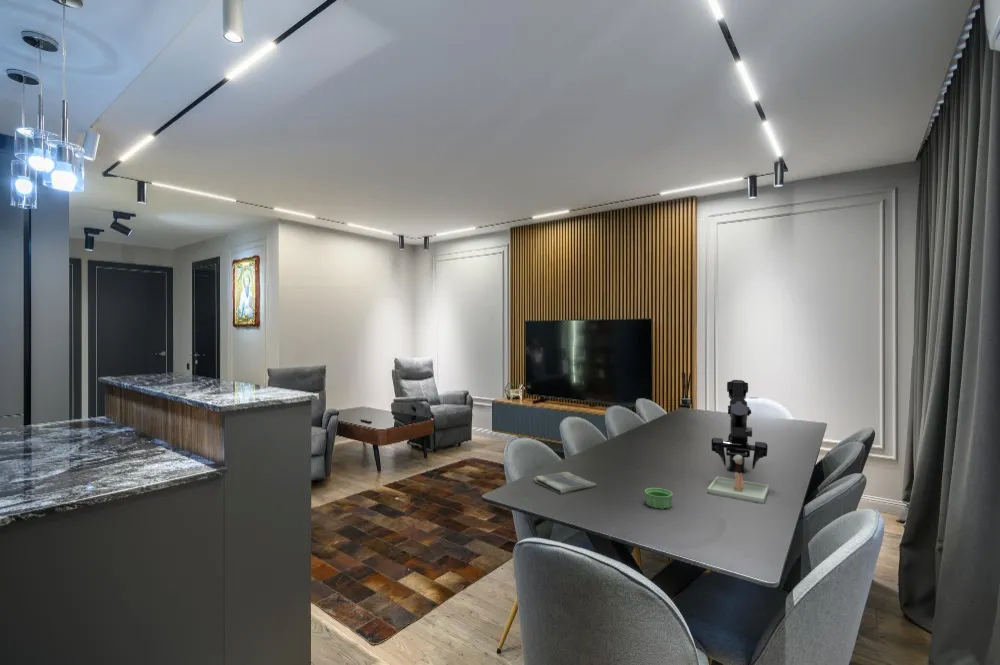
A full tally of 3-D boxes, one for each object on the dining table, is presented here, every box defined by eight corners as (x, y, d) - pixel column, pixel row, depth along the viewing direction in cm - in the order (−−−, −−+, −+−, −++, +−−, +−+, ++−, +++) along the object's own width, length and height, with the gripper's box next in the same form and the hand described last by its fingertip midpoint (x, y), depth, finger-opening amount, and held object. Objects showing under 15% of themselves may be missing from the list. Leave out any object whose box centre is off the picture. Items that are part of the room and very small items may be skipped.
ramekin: (638, 502, 164) (639, 489, 164) (660, 499, 168) (660, 486, 168) (656, 511, 156) (656, 498, 156) (678, 508, 159) (678, 494, 159)
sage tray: (716, 480, 189) (716, 476, 189) (769, 489, 178) (769, 485, 178) (707, 493, 174) (707, 488, 174) (763, 504, 164) (763, 498, 164)
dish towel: (598, 488, 180) (598, 479, 180) (560, 496, 171) (560, 487, 171) (566, 475, 196) (566, 467, 196) (530, 482, 187) (530, 473, 187)
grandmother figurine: (745, 493, 172) (745, 457, 172) (733, 491, 173) (733, 456, 173) (742, 486, 179) (743, 452, 179) (731, 485, 181) (731, 451, 181)
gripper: (711, 416, 184) (710, 451, 174) (767, 420, 176) (769, 458, 166) (712, 433, 191) (711, 467, 181) (765, 437, 183) (767, 474, 173)
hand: (738, 466), depth 175 cm, fingers open, 9 cm apart
